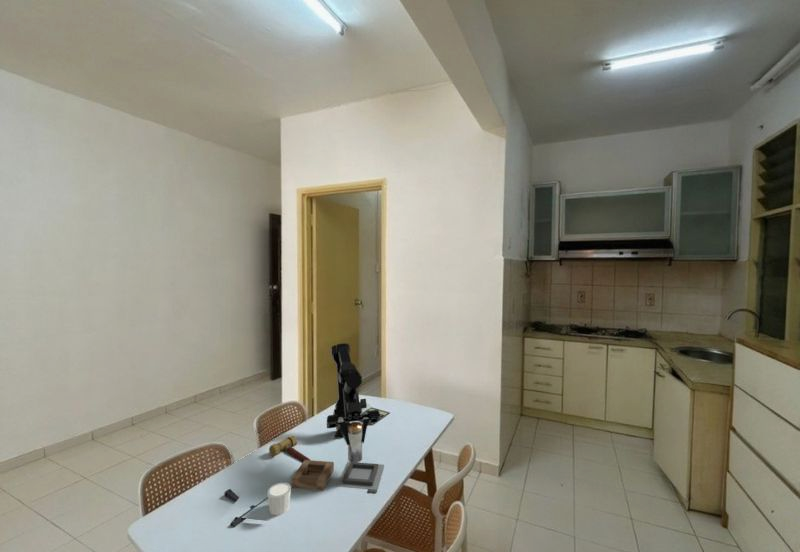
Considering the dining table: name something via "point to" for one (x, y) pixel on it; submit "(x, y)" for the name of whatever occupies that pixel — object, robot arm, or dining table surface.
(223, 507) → the dining table surface
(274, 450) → the gavel
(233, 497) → the bracket
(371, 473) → the tray
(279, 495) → the white cylinder
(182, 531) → the dining table surface
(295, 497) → the dining table surface
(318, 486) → the socket block
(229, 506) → the dining table surface
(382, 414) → the calculator
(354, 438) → the gold-topped cylinder
